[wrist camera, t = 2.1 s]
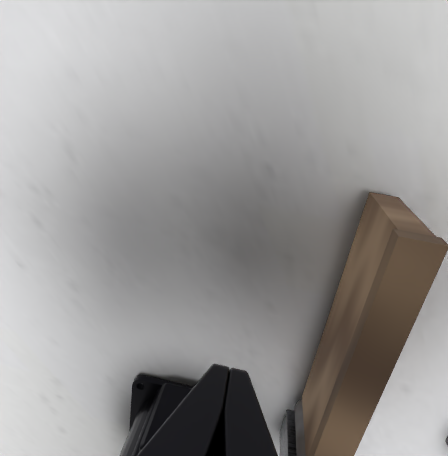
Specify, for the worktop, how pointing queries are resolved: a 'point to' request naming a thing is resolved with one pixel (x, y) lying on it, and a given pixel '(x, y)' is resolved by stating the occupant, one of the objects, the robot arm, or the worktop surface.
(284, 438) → the gate frame
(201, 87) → the worktop surface
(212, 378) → the robot arm
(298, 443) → the gate
